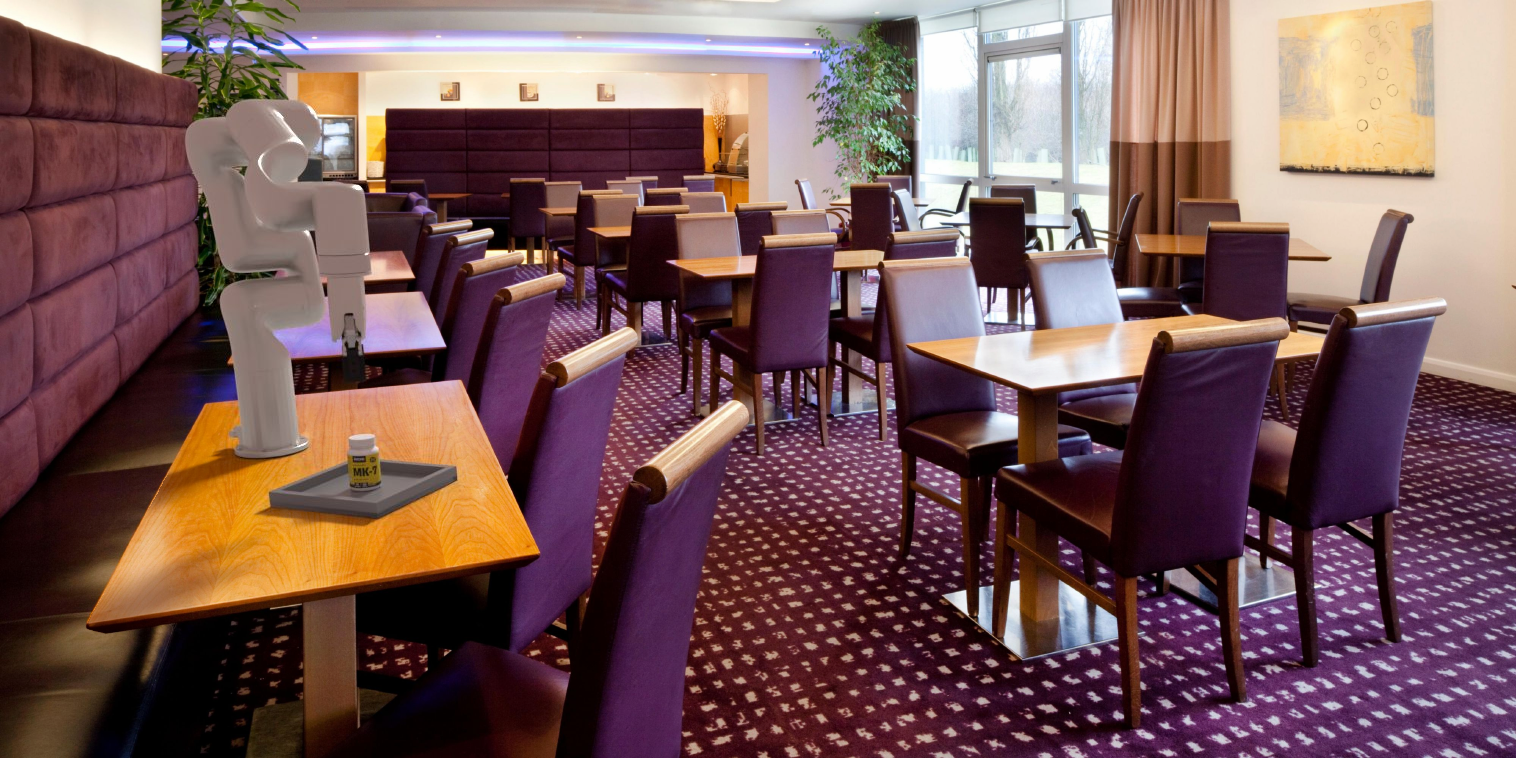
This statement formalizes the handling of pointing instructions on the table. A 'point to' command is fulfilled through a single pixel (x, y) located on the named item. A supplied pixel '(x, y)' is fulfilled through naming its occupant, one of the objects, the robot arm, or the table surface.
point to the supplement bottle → (363, 463)
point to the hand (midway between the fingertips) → (355, 375)
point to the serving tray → (336, 497)
